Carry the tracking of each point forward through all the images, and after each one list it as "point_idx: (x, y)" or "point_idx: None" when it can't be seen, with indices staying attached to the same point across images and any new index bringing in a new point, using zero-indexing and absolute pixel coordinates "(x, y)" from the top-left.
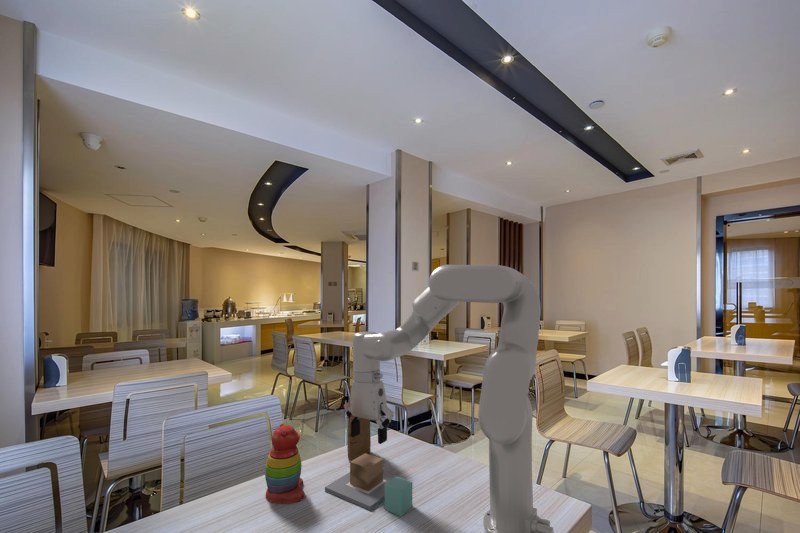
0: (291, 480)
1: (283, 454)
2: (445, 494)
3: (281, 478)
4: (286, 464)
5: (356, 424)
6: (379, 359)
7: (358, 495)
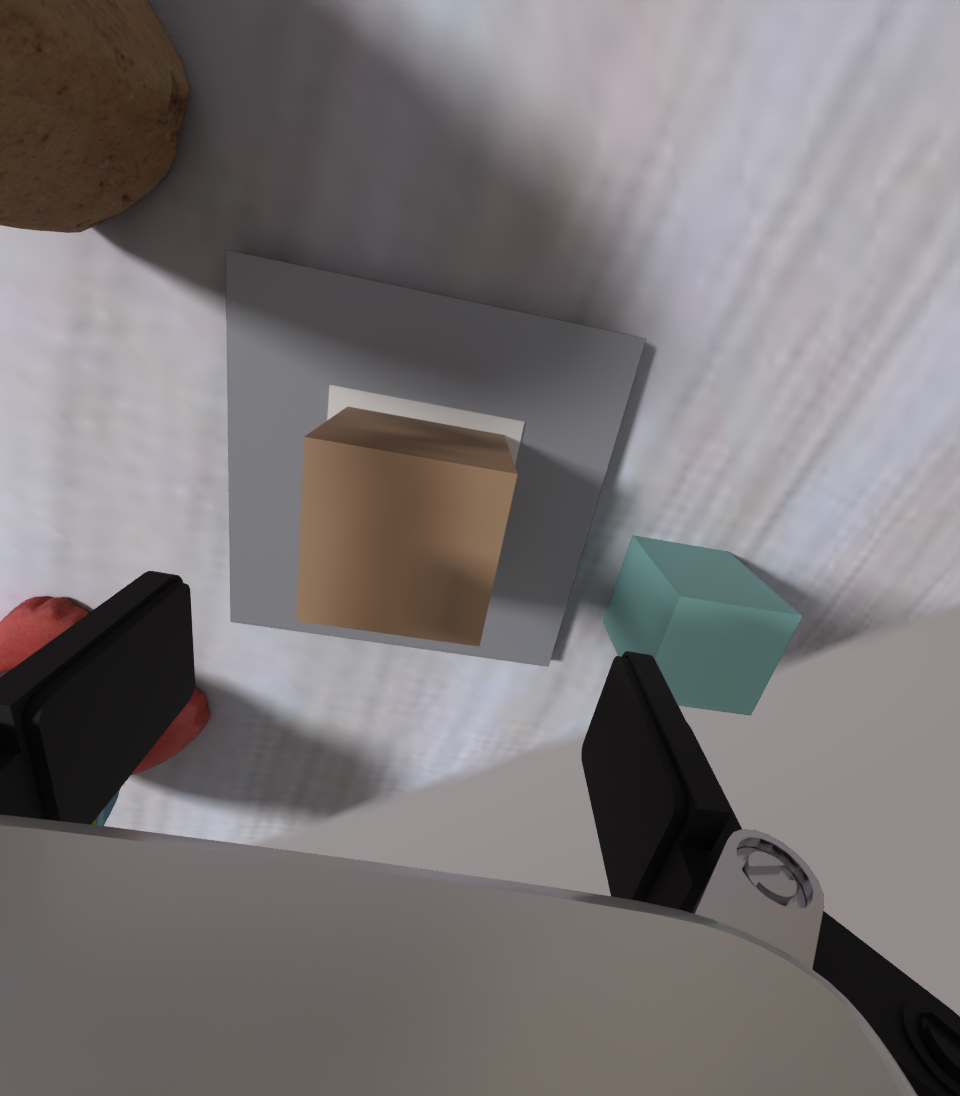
0: (112, 803)
1: None
2: (910, 370)
3: None
4: None
5: (87, 747)
6: None
7: None
